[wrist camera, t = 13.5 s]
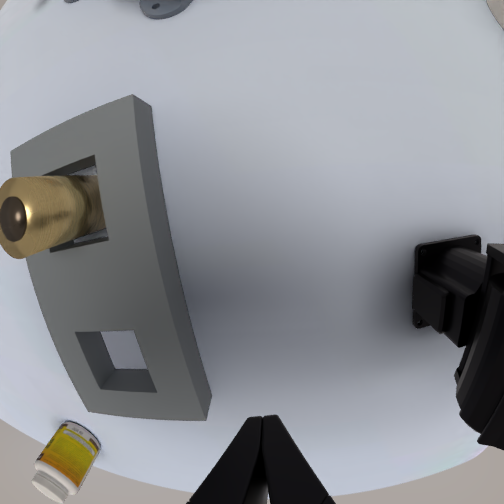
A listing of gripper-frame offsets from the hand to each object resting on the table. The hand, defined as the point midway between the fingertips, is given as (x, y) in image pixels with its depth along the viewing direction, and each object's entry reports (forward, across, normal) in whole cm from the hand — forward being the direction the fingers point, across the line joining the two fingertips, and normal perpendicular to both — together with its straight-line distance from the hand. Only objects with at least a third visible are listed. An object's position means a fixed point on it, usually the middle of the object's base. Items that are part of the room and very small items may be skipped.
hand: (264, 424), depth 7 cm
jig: (+12, +11, -2) cm, 16 cm away
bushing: (+12, +11, -7) cm, 18 cm away
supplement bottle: (+12, +24, +17) cm, 32 cm away
